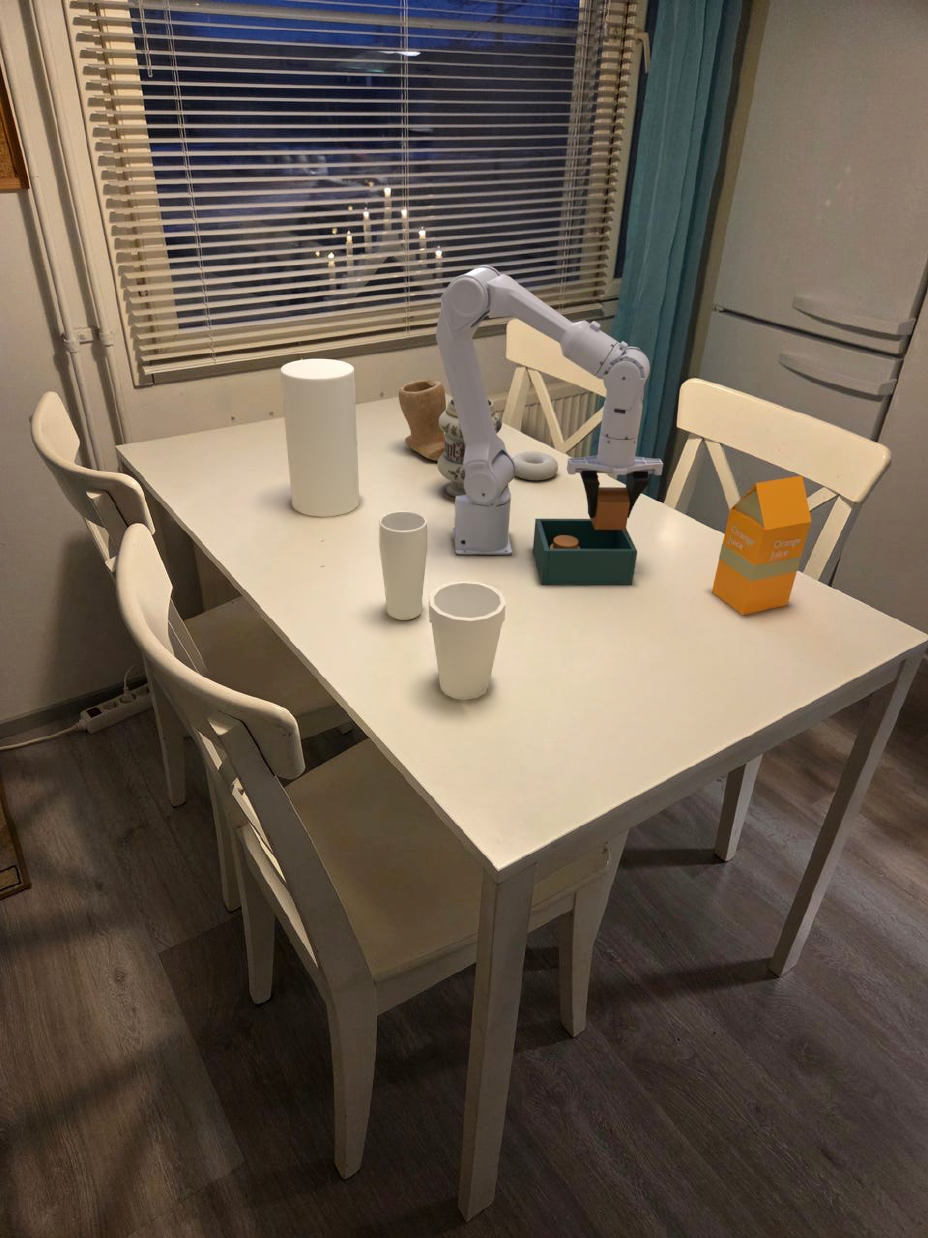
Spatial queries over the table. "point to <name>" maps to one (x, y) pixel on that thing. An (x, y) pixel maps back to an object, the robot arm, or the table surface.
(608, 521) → the square bread
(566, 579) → the dark green open box
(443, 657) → the foam cup
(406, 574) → the drinking glass
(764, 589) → the orange juice
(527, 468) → the donut
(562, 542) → the round bread
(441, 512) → the table surface
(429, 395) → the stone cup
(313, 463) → the cylinder
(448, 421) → the apothecary jar
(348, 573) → the table surface
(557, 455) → the table surface
